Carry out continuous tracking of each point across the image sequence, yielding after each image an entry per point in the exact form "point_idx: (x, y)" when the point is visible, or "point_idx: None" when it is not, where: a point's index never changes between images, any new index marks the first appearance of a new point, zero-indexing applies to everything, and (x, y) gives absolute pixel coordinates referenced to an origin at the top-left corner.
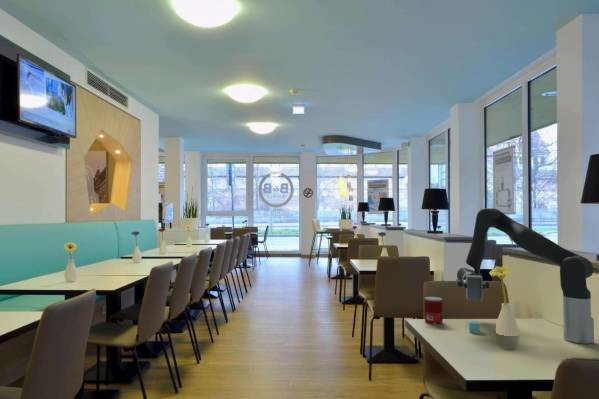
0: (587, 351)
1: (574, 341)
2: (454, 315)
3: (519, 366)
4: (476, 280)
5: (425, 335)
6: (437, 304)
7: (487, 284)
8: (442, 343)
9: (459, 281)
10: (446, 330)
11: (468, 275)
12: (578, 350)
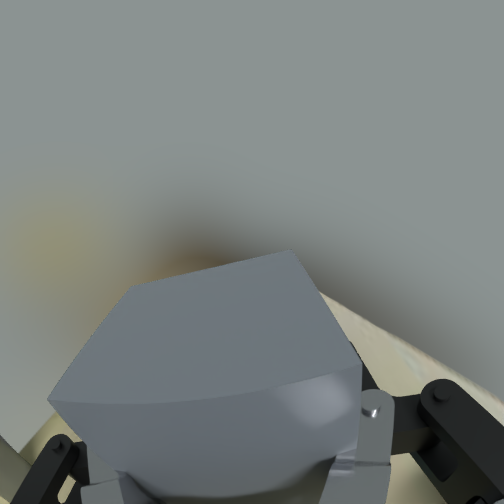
0: (51, 423)
1: (30, 466)
2: None
3: None
4: (164, 452)
5: (432, 370)
6: None
7: (78, 446)
8: (363, 348)
9: (437, 380)
10: (412, 468)
11: (286, 323)
12: (61, 426)
